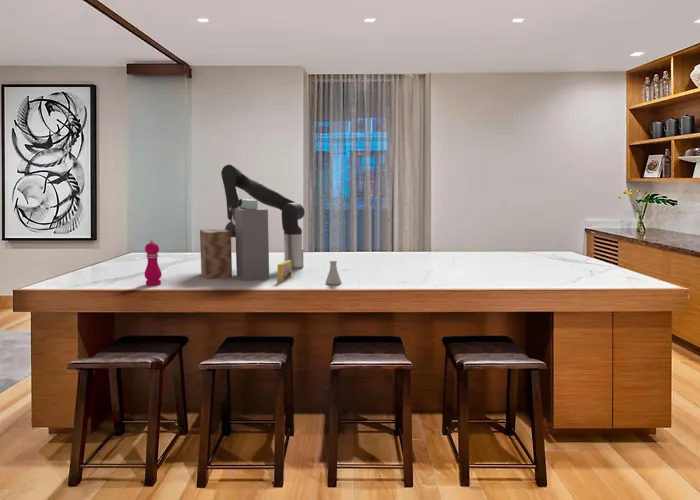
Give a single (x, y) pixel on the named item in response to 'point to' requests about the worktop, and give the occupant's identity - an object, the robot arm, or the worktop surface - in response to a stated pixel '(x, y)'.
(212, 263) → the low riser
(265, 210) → the tall podium
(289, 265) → the candy box
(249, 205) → the slim carton
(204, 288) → the worktop surface
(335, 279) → the flask
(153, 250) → the pepper mill
